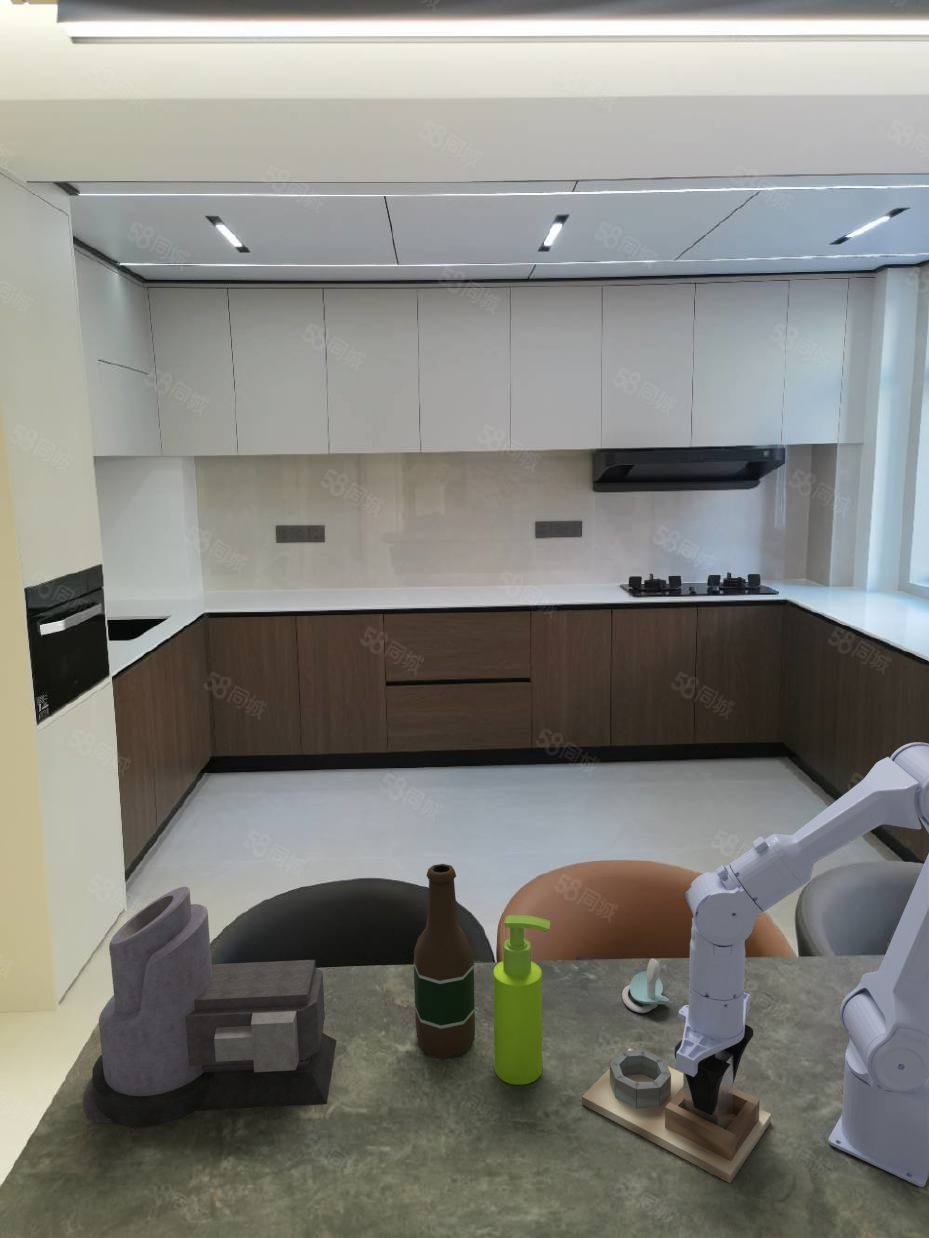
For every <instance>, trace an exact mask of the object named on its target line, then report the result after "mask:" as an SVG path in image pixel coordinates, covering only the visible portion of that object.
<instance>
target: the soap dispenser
mask: <svg viewBox="0 0 929 1238" xmlns="http://www.w3.org/2000/svg"><path fill="white" fill-rule="evenodd" d="M550 927H551V921H550V920H548V919H545V918H542V917H538V916H532V915H525V914H524V915H523V914H520V915H519V914H518V915H517V914H511V915H509V914H508V915H507V914H506V918H505V920H504V928H509V938H508V939H506V940H505V941H504V943H503V945H502V947H503V948H502V949H503V950H502V951H503V956H502V957H503V958H502V961H500V962H499V963H497V964H496V965H495V966H494V968H493V970H492V971H493V973H492V974H493V976H492V977H493V984H492V985H493V1030H494V1032H493V1033H494V1034H493V1035H494V1037H493V1041H494V1042H493V1043H494V1045H493V1046H494V1048H493V1049H494V1072H495V1073H496V1076H497V1077H498V1078H499V1079H500V1080H502V1082H505V1083H507V1084H510V1085H515V1086H522V1085H528V1084H531V1083H533V1082H535V1081H537V1080H538V1079H539V1078H540V1077H541V1075H542V1072H543V1004H542V1003H543V995H542V994H543V992H542V991H543V986H542V984H543V980H542V978H543V975H542V974H543V973H542V969H541V967H540V966H539V965H538V964H537V963H536V962H534V961H532V945H531V944H532V943H531V942H530V941H529V940H528V939H526V938H525V929H533V930H537V931H542V932H544V933H546V932H548V931H549V930H550Z"/></svg>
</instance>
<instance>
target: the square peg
mask: <svg viewBox="0 0 929 1238" xmlns="http://www.w3.org/2000/svg"><path fill="white" fill-rule="evenodd" d="M715 1058H718V1059H720V1060H722V1061H724V1062H727V1063H729V1064H731V1065H730V1066H729V1067H728V1069H727V1070H726V1072H725V1074H724V1076H723V1078H722V1081H721V1084H720V1088H719V1094H718V1100H717V1105H716V1108H715V1110H714V1112H713V1114H712V1115H709V1114H707V1113H705V1112H703V1111H701V1110H699V1109H696V1108H695V1107H694V1104H693V1101H692V1097H691V1092H690V1088H689V1085H688V1081H687V1078H686V1076H685V1074H684V1073H683V1072H682V1073H683V1109H685V1110H687V1111H689V1112H691V1113H693V1114H695V1115H697V1116H699V1117H701V1118H703V1119H705V1120H707V1121H709V1122H711V1123H713V1124H715V1125H717V1126H719V1127H721V1128H723V1129H726V1128H727V1126H728V1125H729V1123H730V1122H731V1121H732V1119H733V1088H734V1083H733V1053H731V1052H728V1051H726V1050H722V1051H720V1052H717V1053H715Z"/></svg>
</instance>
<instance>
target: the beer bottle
mask: <svg viewBox="0 0 929 1238" xmlns="http://www.w3.org/2000/svg"><path fill="white" fill-rule="evenodd" d="M456 877H457V874H456V871H455V869H454V867H453V865H451V864H450V865H449V864H446V863H440V864H432V865H431V866H430V867H429V868H428V869H427V871H426V878H427V879H428V894H427V895H428V896H427V897H428V899H427V902H428V904H427V917H426V925H425V928H424V929H423V931H422V932H421V934H420V935H419V936H418V938H417V941H416V943H415V946H414V950H413V979H414V980H413V981H414V982H413V983H414V984H413V985H414V1014H415V1015H414V1016H415V1031H416V1039H417V1041H418V1044H419V1046H420V1049H421V1051H422V1053H423V1054H426V1055H428V1056H431V1057H432V1058H433V1057H434V1058H437V1059H440V1060H446V1059H451V1058H456V1057H460V1056H464V1054H465V1053H466V1052H467V1050H468V1049H470V1047H471V1046H470V1045H473V1043H474V1041H475V1035H476V1033H475V1031H476V1012H475V1011H476V1010H475V1009H476V1007H475V1003H476V1002H475V1001H476V1000H475V964H474V955H473V953H474V952H473V950H472V946H471V944H470V942H469V940H468V938H467V936H466V934H465V932H464V931H463V929H462V927H460V924H459V918H458V909H457V899H456V888H455V887H456V885H455V878H456Z"/></svg>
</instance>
